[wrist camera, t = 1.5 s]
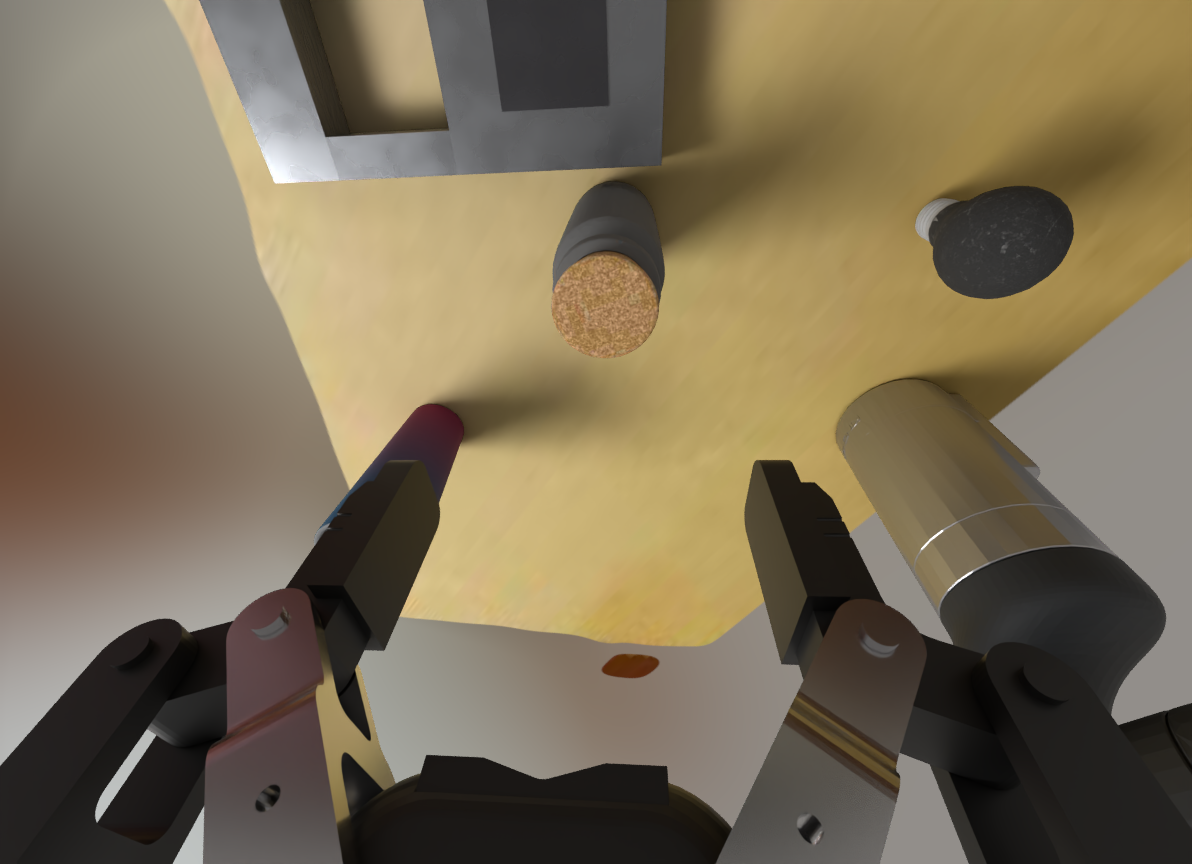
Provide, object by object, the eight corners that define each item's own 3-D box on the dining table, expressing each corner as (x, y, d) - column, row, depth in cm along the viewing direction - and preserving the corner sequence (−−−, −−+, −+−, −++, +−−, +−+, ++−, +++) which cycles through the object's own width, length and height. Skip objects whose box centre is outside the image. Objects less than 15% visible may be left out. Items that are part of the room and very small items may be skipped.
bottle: (654, 268, 34) (669, 368, 22) (574, 271, 34) (545, 370, 22) (656, 178, 30) (676, 237, 18) (568, 182, 30) (529, 242, 18)
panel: (666, -128, 22) (671, -155, 20) (658, 159, 29) (661, 165, 27) (203, -85, 24) (154, -105, 21) (302, 176, 31) (273, 183, 29)
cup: (484, 448, 45) (432, 580, 33) (421, 458, 46) (348, 589, 34) (455, 389, 41) (384, 515, 29) (387, 402, 42) (292, 527, 30)
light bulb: (867, 251, 32) (947, 305, 24) (913, 159, 29) (1023, 186, 21) (943, 265, 32) (1047, 323, 24) (997, 176, 29) (1139, 209, 21)
